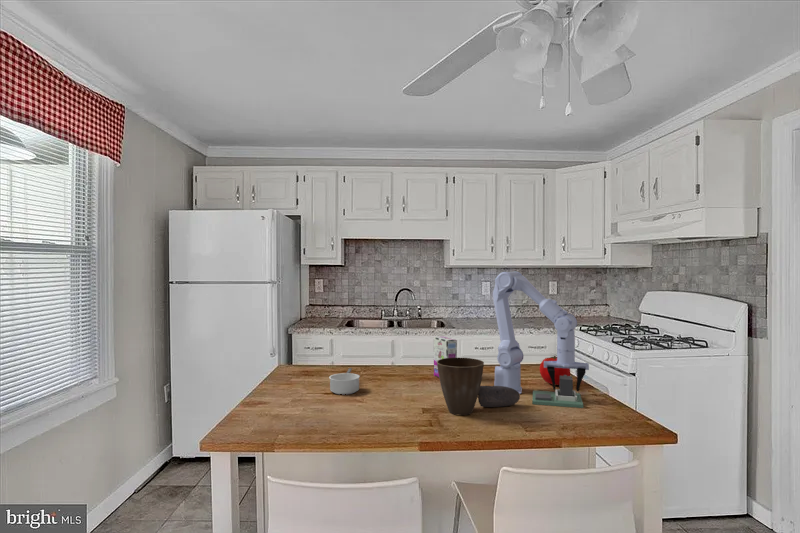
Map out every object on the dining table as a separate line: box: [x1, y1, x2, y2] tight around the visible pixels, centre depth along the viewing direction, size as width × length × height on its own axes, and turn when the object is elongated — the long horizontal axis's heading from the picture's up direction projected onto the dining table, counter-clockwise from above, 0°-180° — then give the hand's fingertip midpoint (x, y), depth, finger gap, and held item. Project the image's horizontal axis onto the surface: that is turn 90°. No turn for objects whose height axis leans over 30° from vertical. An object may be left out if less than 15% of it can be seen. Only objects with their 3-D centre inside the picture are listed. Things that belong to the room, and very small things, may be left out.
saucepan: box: [328, 367, 361, 396], centre depth 183 cm, size 12×20×6 cm, turn 177°
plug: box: [559, 375, 574, 396], centre depth 166 cm, size 4×6×7 cm, turn 164°
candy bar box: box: [433, 336, 458, 378], centre depth 198 cm, size 11×5×16 cm, turn 25°
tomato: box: [539, 355, 571, 386], centre depth 187 cm, size 12×12×11 cm
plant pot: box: [437, 357, 485, 416], centre depth 154 cm, size 15×15×16 cm
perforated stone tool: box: [477, 385, 521, 408], centre depth 160 cm, size 15×5×7 cm, turn 96°
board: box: [531, 388, 584, 409], centre depth 166 cm, size 16×14×2 cm
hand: (565, 389), depth 165 cm, fingers open, 7 cm apart
